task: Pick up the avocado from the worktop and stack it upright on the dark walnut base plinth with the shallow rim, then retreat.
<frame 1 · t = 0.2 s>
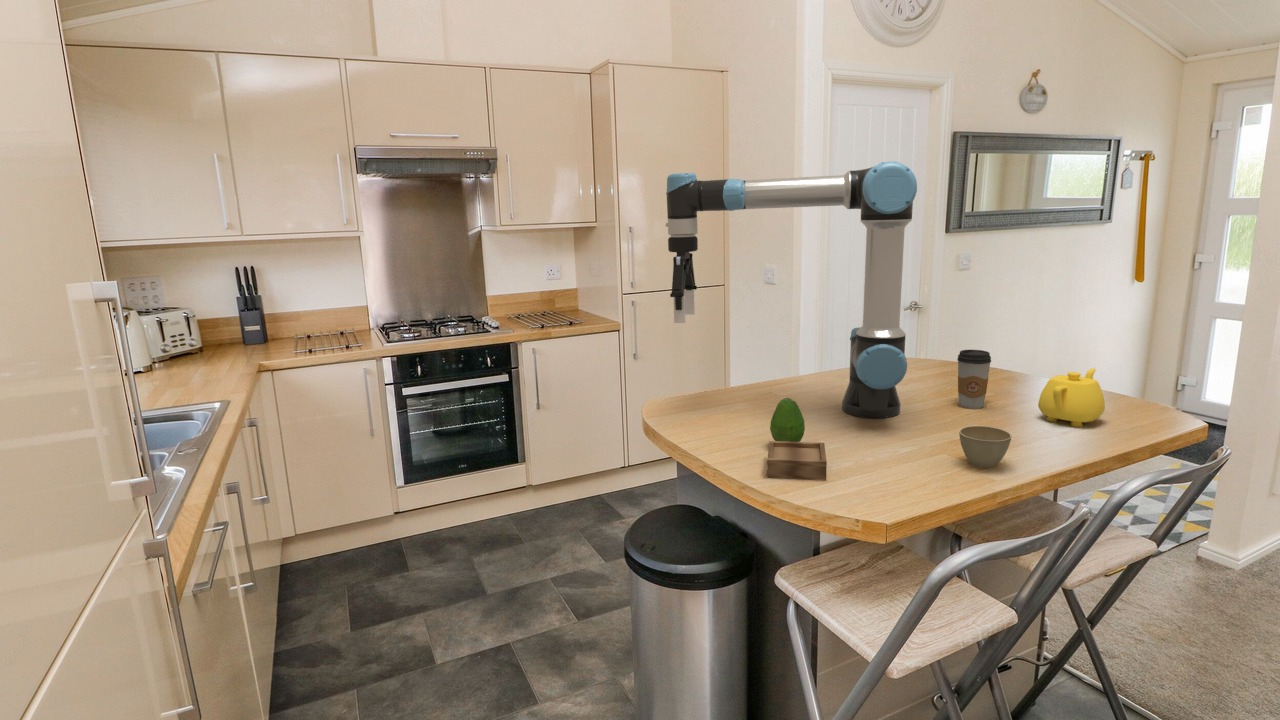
hand: (684, 318, 182), 28 cm above the table, fingers open, 13 cm apart
grey bowl: (982, 465, 149), on the table
base: (796, 468, 151), on the table
coffee cup: (970, 406, 191), on the table
avocado: (787, 447, 165), on the table
teapot: (1070, 420, 176), on the table
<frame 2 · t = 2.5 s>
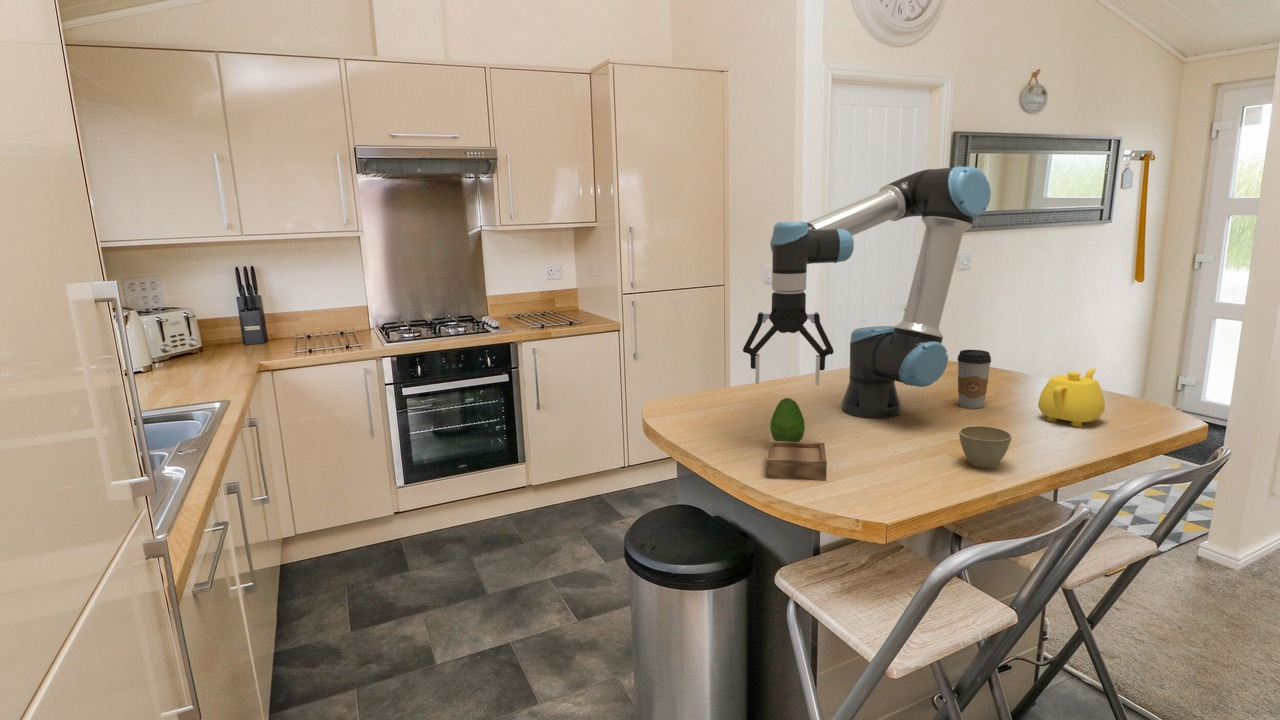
hand: (787, 383, 161), 15 cm above the table, fingers open, 13 cm apart
nothing on the table moved.
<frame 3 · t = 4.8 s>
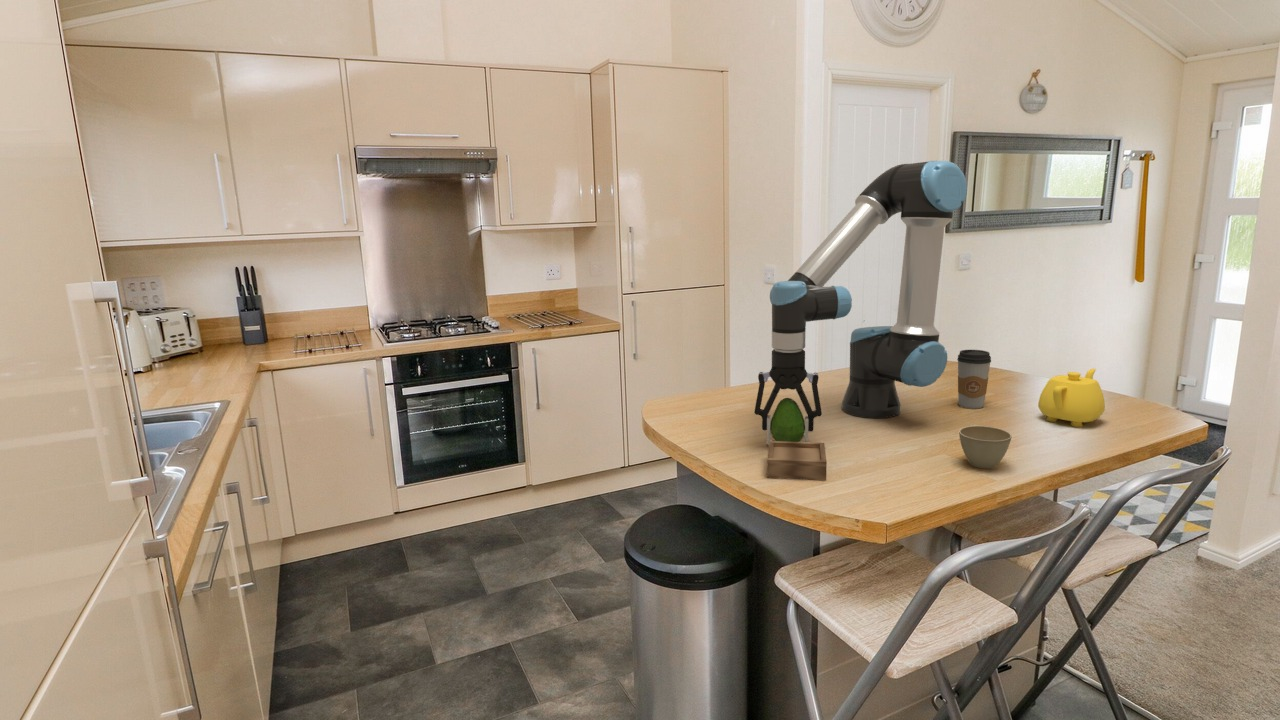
hand: (787, 443, 165), 1 cm above the table, fingers closed on avocado, 8 cm apart
avocado: (787, 447, 165), on the table, touching gripper
everything else where it was.
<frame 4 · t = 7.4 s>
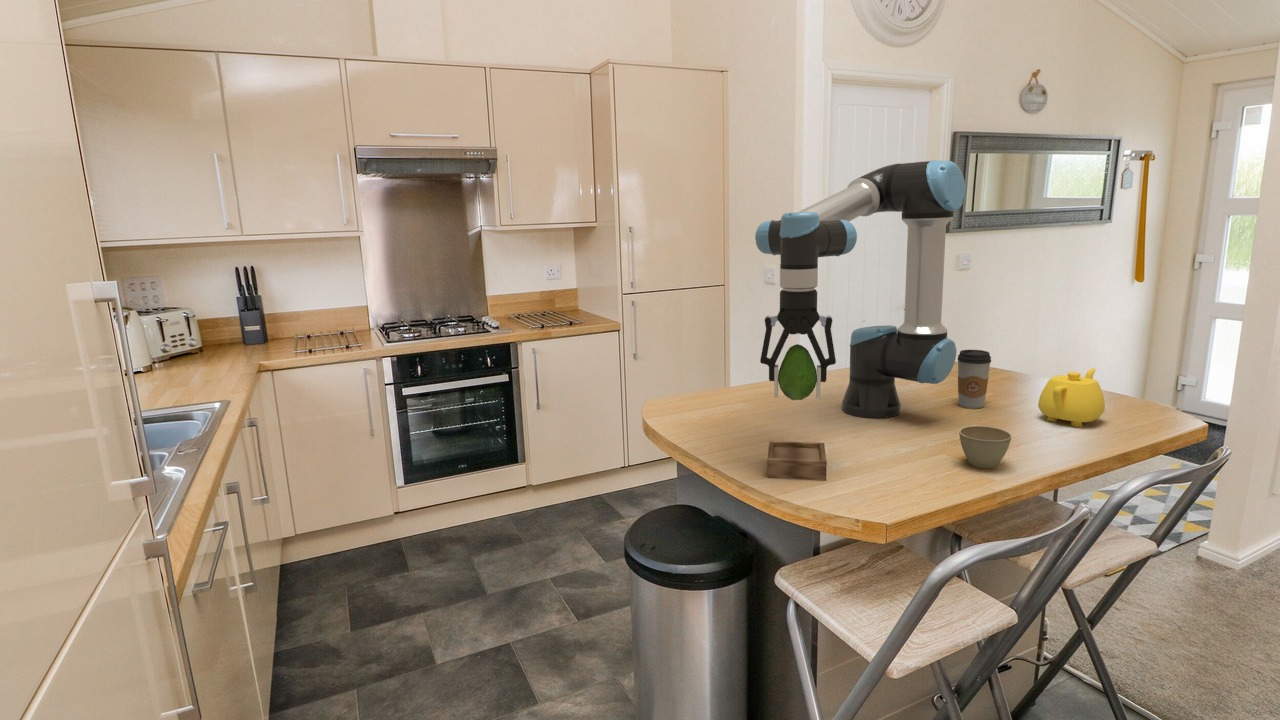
hand: (797, 396, 147), 16 cm above the table, fingers closed on avocado, 8 cm apart
avocado: (797, 400, 148), point 15 cm above the table, touching gripper
everything else where it was.
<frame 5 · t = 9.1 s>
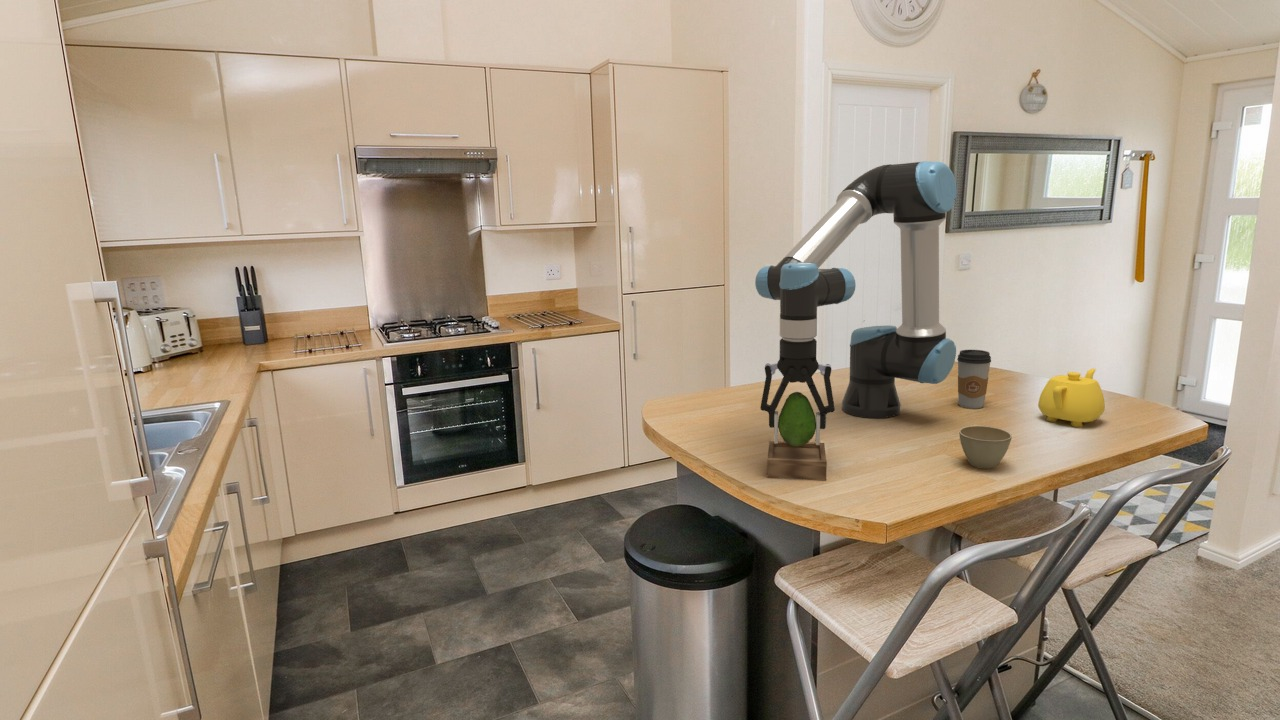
hand: (796, 442, 150), 6 cm above the table, fingers closed on avocado, 8 cm apart
avocado: (797, 446, 150), point 5 cm above the table, touching gripper
everything else where it was.
when the fingers open (6 cm above the table, at t = 10.0 s): avocado drops 2 cm, resting on base.
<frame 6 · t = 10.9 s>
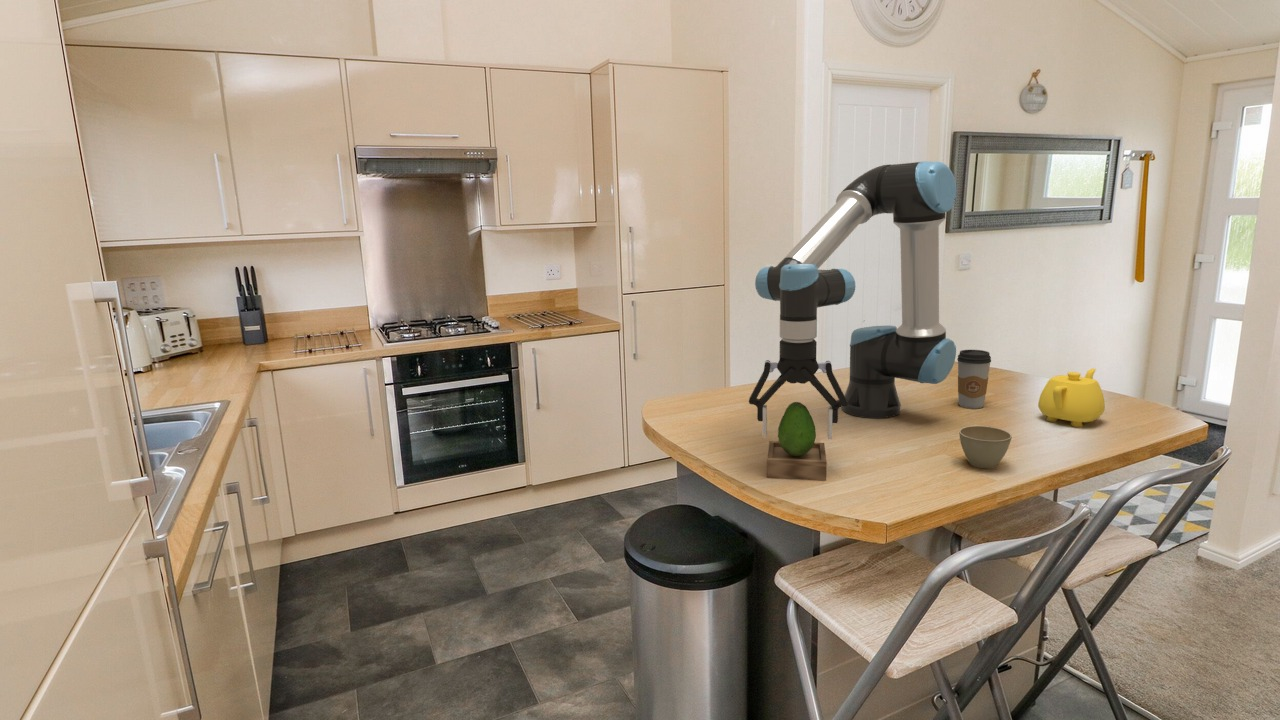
hand: (796, 436, 149), 7 cm above the table, fingers open, 13 cm apart
avocado: (796, 456, 150), point 3 cm above the table, touching base
everything else where it was.
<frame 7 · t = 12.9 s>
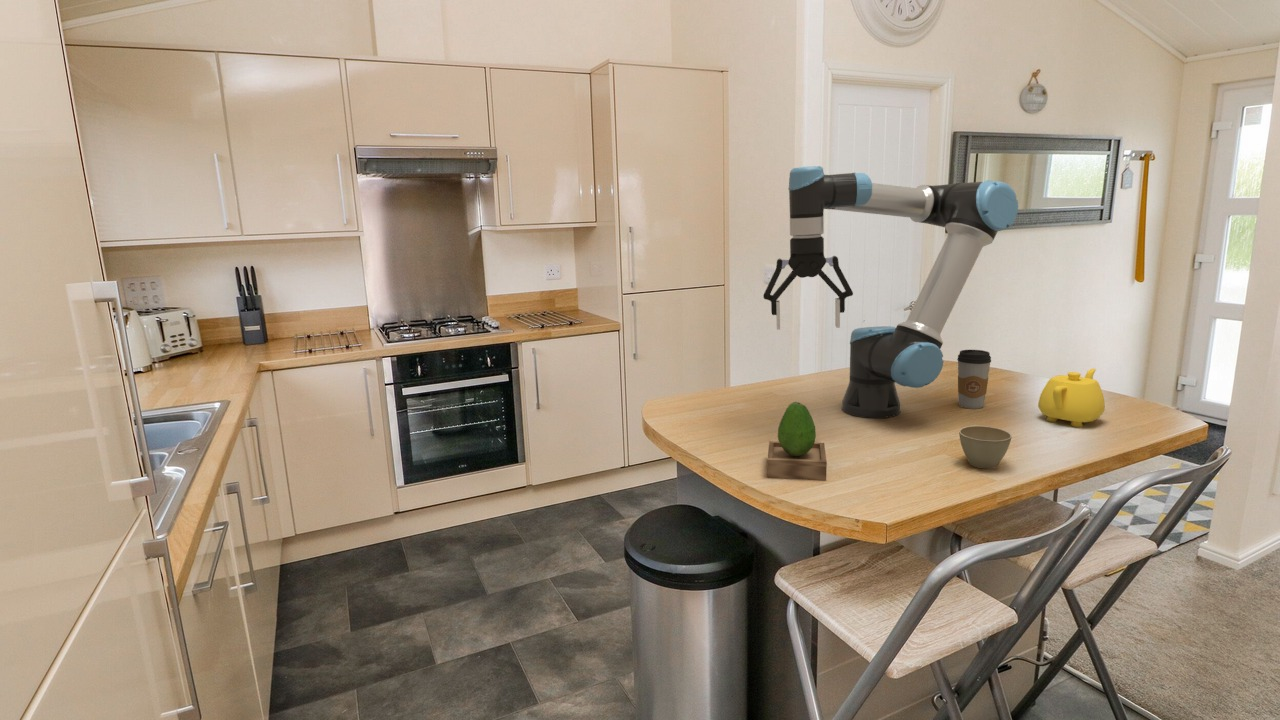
hand: (807, 327, 164), 27 cm above the table, fingers open, 13 cm apart
nothing on the table moved.
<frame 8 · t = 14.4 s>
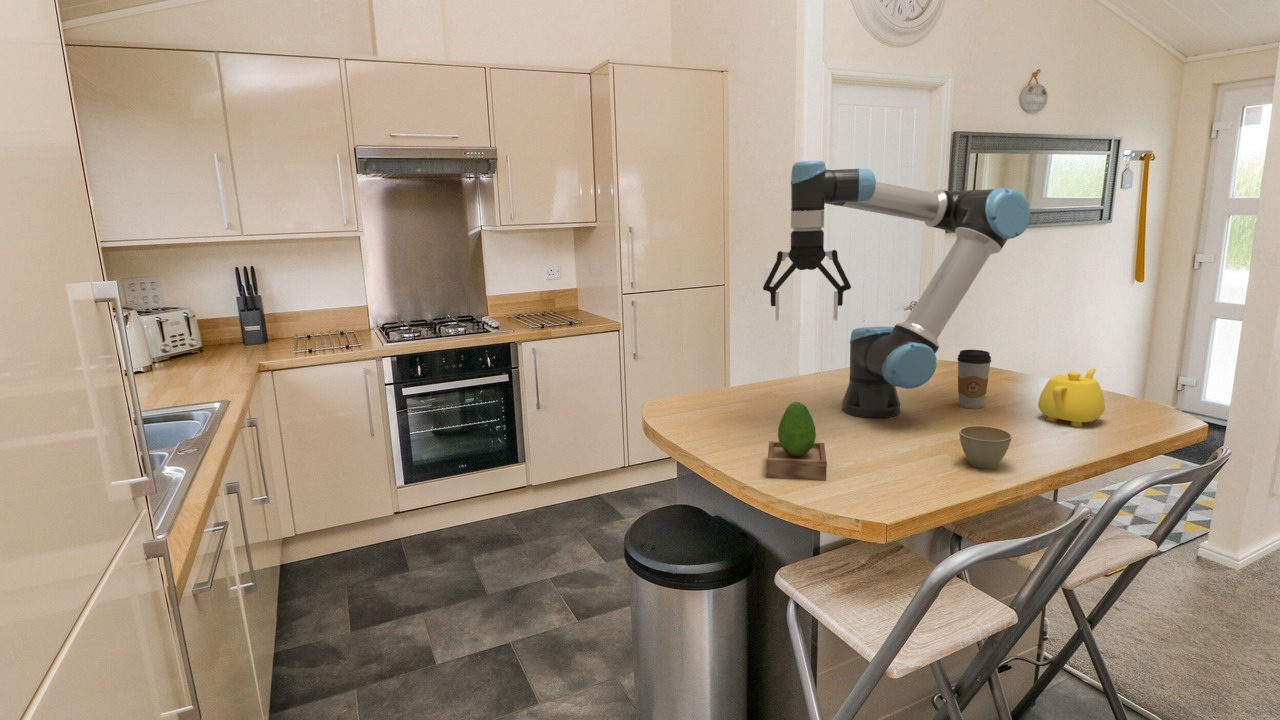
hand: (806, 319, 167), 29 cm above the table, fingers open, 13 cm apart
nothing on the table moved.
at the end: avocado 0.1 cm from the base (horizontally); avocado point 2.8 cm above the table; the gripper is holding nothing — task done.
